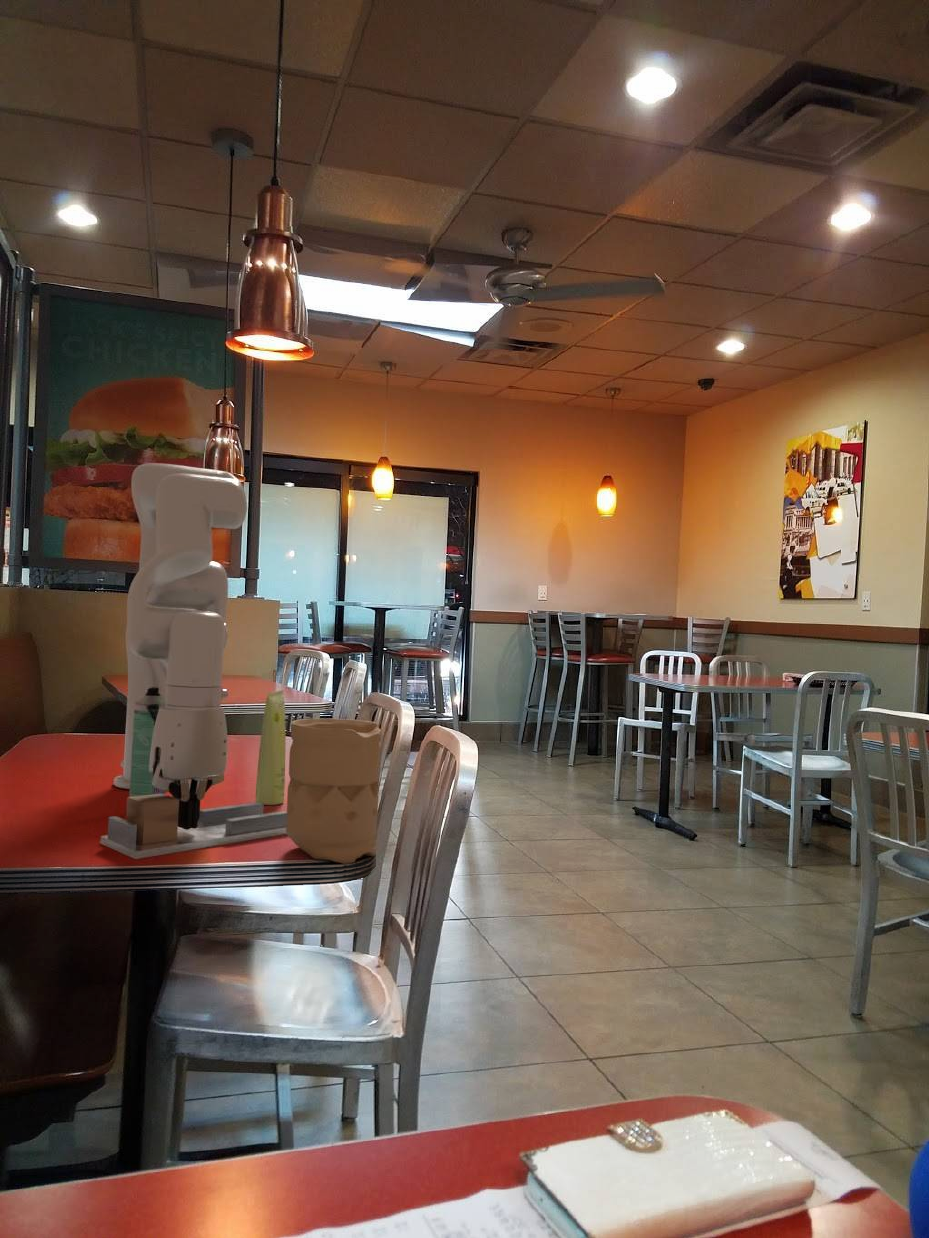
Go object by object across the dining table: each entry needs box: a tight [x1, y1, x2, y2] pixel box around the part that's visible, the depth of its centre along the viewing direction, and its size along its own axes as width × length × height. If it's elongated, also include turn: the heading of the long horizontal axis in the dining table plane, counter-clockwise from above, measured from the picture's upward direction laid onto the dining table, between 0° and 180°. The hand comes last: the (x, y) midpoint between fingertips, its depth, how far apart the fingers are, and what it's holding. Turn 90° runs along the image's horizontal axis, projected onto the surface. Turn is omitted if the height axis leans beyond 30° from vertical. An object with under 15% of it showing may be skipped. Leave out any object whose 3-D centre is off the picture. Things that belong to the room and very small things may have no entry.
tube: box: [254, 689, 287, 806], centre depth 153 cm, size 6×5×20 cm
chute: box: [100, 802, 287, 860], centre depth 127 cm, size 10×25×4 cm, turn 137°
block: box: [125, 793, 179, 845], centre depth 121 cm, size 5×5×6 cm
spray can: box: [128, 687, 167, 797], centre depth 142 cm, size 6×6×20 cm
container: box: [286, 717, 382, 865], centre depth 122 cm, size 13×13×18 cm
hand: (186, 826), depth 125 cm, fingers closed
